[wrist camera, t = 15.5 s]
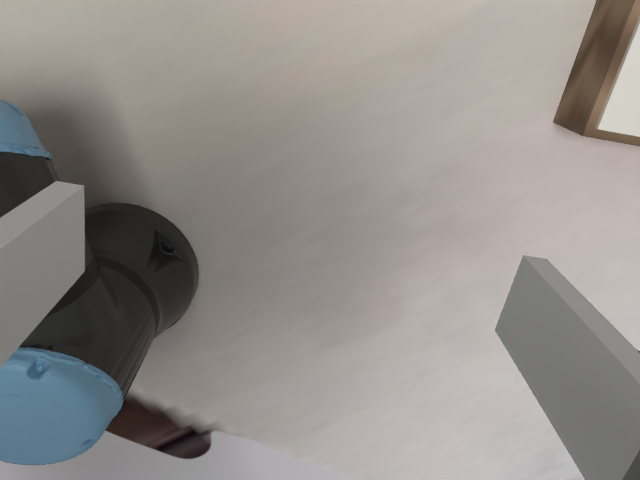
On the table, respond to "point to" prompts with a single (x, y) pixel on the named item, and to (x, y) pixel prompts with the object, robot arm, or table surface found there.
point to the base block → (606, 76)
